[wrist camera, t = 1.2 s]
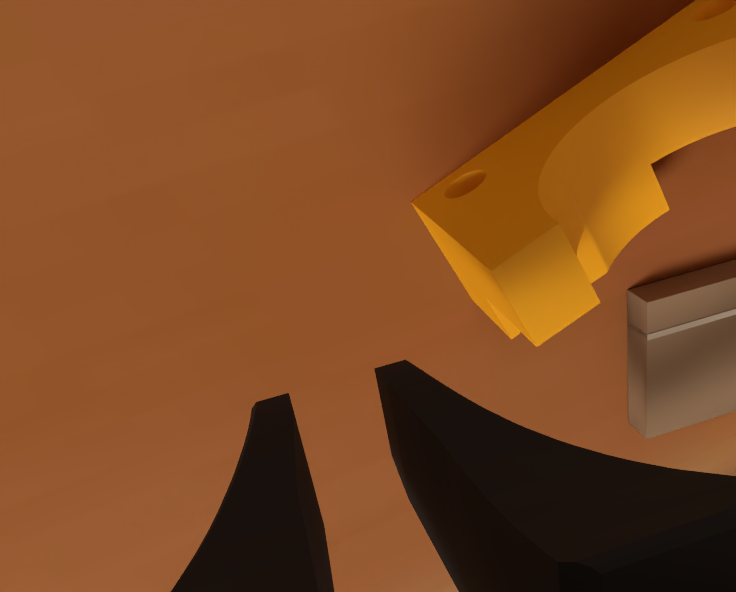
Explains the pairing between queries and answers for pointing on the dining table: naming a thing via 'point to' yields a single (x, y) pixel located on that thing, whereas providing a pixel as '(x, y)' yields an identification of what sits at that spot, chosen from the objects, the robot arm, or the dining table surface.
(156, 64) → the dining table surface
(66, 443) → the dining table surface
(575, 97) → the pipe clamp
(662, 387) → the board
